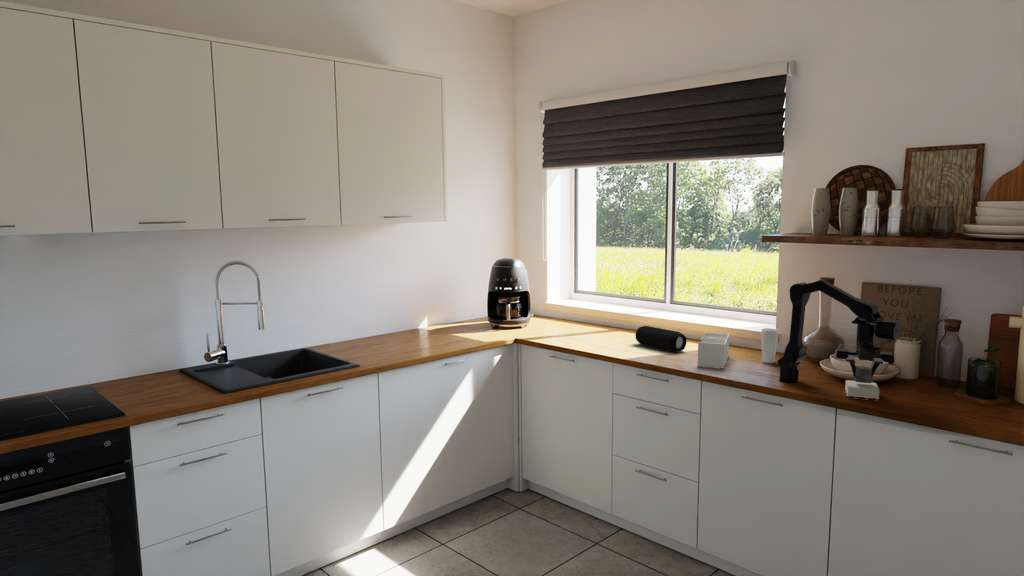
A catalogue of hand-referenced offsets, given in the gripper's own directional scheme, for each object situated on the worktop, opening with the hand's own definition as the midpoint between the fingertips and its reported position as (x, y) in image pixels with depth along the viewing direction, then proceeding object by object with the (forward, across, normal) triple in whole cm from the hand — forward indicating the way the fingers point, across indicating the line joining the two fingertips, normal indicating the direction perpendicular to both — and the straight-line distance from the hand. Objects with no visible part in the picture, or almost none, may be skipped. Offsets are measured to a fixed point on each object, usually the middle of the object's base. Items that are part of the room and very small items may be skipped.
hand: (862, 378), depth 238 cm
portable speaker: (+7, -83, +54) cm, 99 cm away
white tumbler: (+7, -33, +42) cm, 54 cm away
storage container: (+7, -56, +35) cm, 66 cm away
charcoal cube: (+1, 0, 0) cm, 1 cm away
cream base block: (+6, 0, 0) cm, 7 cm away
